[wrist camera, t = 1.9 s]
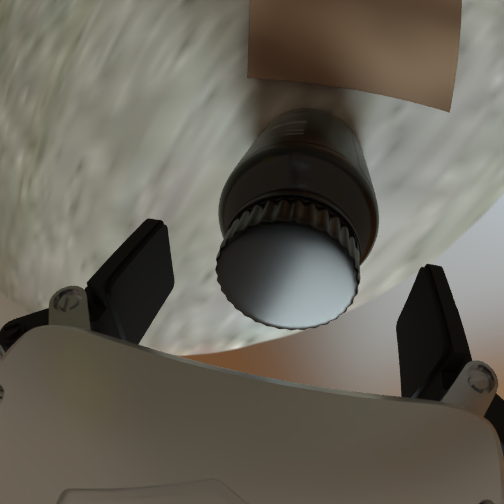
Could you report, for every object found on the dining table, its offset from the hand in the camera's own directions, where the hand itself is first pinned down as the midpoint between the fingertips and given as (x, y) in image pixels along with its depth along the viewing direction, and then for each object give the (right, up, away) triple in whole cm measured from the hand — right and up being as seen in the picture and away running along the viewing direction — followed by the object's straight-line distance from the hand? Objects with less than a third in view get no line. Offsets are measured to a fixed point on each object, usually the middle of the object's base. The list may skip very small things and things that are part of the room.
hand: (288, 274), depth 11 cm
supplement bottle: (+3, +7, +9) cm, 11 cm away
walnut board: (+5, +16, +1) cm, 17 cm away
